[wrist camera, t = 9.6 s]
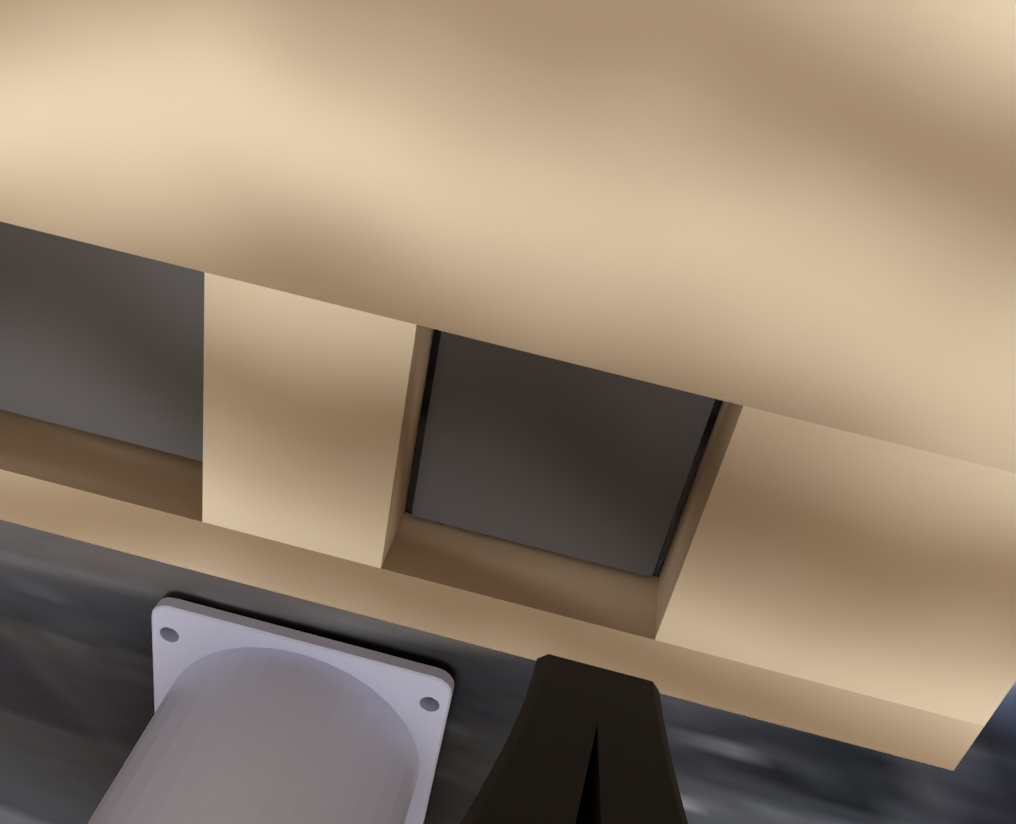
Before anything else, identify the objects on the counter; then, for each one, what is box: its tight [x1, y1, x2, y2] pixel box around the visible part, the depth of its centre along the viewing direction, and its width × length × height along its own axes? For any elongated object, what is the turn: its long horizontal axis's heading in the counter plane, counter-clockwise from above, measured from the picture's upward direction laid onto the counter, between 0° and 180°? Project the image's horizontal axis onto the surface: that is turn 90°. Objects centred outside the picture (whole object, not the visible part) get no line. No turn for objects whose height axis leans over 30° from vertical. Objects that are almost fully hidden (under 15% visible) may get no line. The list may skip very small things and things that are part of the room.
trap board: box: [0, 0, 1016, 770], centre depth 18 cm, size 18×30×2 cm, turn 79°
